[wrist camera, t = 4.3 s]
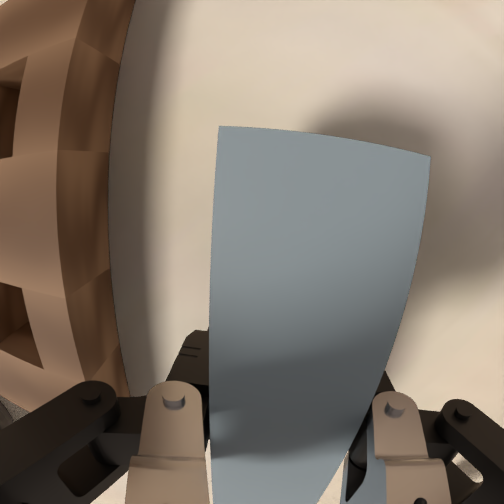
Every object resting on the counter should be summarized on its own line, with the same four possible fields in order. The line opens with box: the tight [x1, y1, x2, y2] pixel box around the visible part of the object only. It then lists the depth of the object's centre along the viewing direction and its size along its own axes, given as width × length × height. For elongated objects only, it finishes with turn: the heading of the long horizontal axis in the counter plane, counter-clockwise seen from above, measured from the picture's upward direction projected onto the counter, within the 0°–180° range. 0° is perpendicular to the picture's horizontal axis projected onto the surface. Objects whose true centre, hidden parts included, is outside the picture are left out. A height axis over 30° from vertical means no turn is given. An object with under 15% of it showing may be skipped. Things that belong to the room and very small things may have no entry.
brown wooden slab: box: [0, 0, 135, 412], centre depth 10 cm, size 22×9×4 cm, turn 176°
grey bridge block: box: [209, 126, 431, 504], centre depth 9 cm, size 13×4×6 cm, turn 176°
